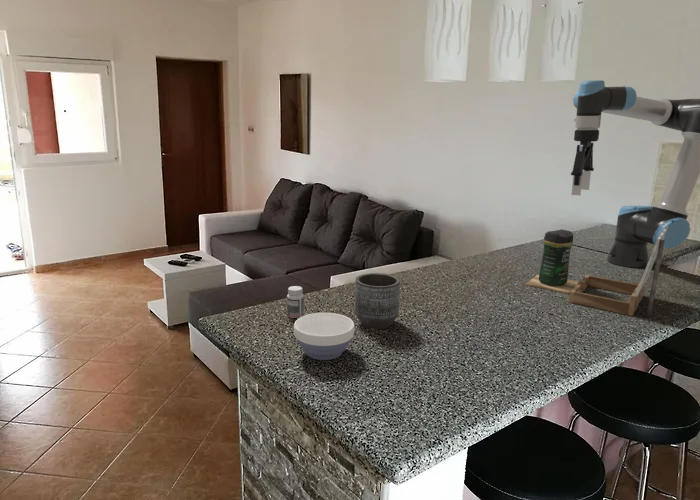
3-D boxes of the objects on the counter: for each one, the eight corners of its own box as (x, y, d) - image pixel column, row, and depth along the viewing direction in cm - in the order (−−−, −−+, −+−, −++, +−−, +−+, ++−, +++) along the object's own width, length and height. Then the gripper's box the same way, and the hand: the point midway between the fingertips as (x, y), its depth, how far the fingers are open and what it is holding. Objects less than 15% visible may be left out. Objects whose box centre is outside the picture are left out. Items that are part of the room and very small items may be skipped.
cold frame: (584, 284, 179) (594, 217, 173) (658, 298, 167) (672, 226, 160) (568, 302, 162) (578, 227, 156) (649, 319, 149) (664, 239, 143)
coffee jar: (554, 288, 173) (561, 234, 168) (534, 281, 179) (540, 229, 174) (571, 283, 178) (578, 230, 174) (551, 277, 185) (557, 226, 180)
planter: (347, 318, 146) (348, 275, 143) (385, 312, 151) (387, 270, 147) (365, 335, 135) (367, 289, 132) (406, 328, 140) (408, 283, 137)
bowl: (305, 371, 116) (305, 340, 114) (286, 345, 129) (286, 316, 127) (363, 360, 122) (364, 330, 120) (340, 336, 134) (340, 309, 132)
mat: (538, 275, 188) (538, 273, 188) (578, 283, 180) (579, 281, 180) (525, 285, 177) (526, 283, 177) (568, 293, 170) (568, 292, 169)
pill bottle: (296, 311, 150) (296, 284, 148) (307, 316, 147) (307, 288, 145) (283, 315, 147) (283, 287, 145) (294, 320, 144) (293, 292, 142)
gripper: (583, 127, 184) (577, 186, 190) (566, 130, 165) (560, 196, 170) (606, 127, 180) (599, 188, 186) (591, 130, 160) (584, 198, 166)
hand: (580, 192), depth 178 cm, fingers open, 13 cm apart
